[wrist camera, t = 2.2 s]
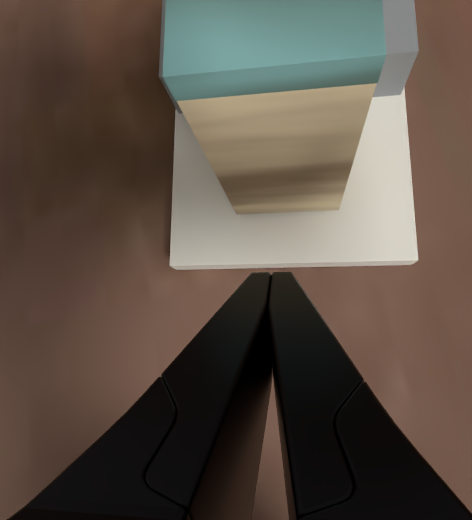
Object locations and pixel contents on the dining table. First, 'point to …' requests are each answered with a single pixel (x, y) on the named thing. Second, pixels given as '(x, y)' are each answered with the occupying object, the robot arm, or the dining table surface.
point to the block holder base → (309, 222)
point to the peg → (276, 93)
